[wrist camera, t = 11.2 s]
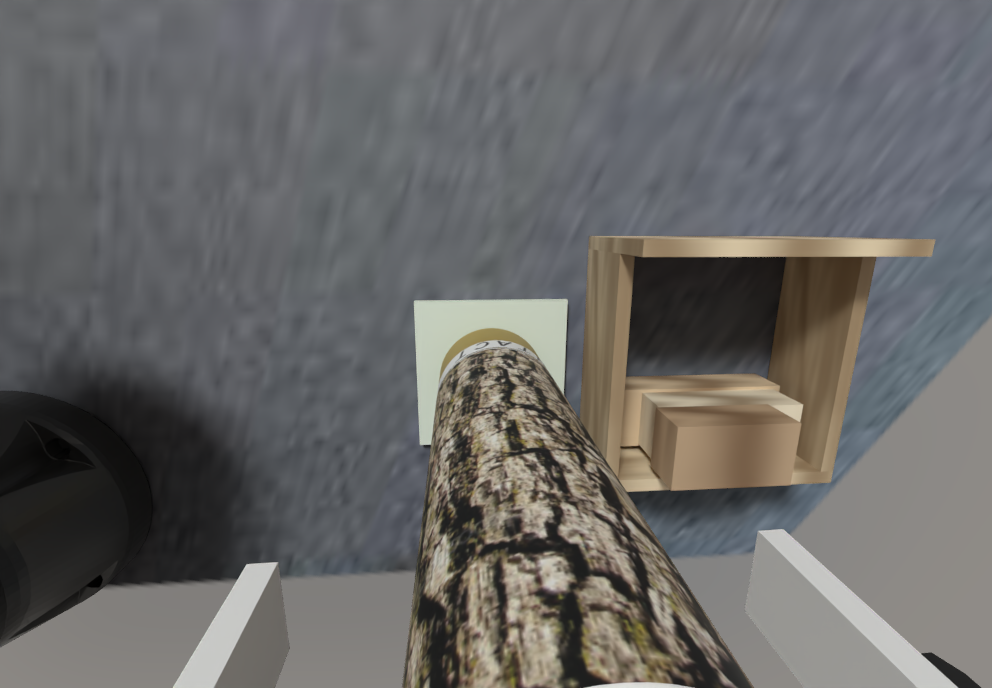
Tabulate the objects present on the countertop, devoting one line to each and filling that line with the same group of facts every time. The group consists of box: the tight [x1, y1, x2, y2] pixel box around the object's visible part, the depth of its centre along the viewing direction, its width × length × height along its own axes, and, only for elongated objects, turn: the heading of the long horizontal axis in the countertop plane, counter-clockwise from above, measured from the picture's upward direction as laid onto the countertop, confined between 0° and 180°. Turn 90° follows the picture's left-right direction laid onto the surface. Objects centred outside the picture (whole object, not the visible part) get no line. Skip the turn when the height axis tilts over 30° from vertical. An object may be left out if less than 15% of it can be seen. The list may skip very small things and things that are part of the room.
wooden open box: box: [580, 236, 935, 492], centre depth 28 cm, size 15×15×9 cm
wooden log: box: [402, 328, 754, 688], centre depth 19 cm, size 7×7×25 cm
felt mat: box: [414, 299, 568, 445], centre depth 31 cm, size 10×10×1 cm
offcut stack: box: [620, 374, 803, 491], centre depth 29 cm, size 11×4×8 cm, turn 90°
